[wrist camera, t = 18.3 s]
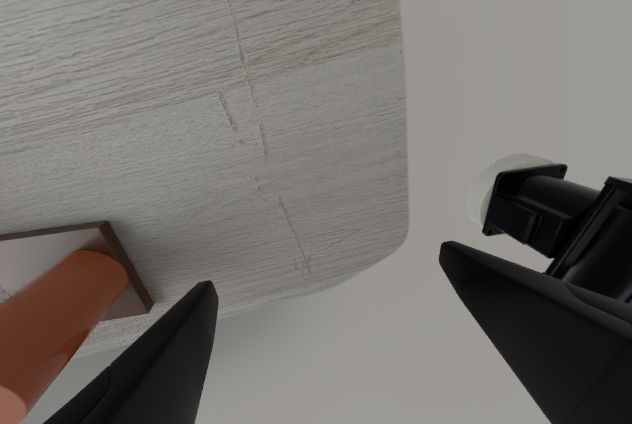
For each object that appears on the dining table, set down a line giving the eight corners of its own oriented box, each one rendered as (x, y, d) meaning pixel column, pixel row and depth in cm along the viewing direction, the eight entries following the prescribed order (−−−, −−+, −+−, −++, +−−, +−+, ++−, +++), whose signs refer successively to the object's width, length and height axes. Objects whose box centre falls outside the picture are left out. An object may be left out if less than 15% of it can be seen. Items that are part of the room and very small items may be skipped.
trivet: (107, 220, 21) (98, 227, 19) (154, 304, 25) (148, 313, 24) (-22, 237, 20) (-39, 246, 19) (50, 321, 24) (40, 331, 23)
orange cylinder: (64, 240, 20) (-115, 363, 11) (136, 264, 21) (35, 386, 13) (50, 286, 21) (-114, 425, 12) (119, 305, 23) (18, 438, 14)
